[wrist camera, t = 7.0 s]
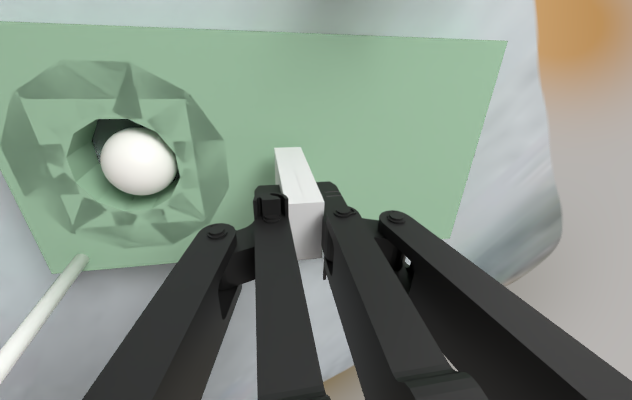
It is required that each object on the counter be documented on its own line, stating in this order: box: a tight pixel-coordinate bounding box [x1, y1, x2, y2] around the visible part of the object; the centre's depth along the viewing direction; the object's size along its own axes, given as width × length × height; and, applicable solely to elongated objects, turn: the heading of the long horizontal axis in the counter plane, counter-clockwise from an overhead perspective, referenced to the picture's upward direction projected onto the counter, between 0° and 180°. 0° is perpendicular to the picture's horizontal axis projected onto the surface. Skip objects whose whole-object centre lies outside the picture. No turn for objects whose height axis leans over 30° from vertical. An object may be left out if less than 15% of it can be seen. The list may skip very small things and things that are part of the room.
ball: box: [100, 127, 178, 195], centre depth 18 cm, size 4×4×4 cm
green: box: [0, 21, 508, 385], centre depth 15 cm, size 14×29×15 cm, turn 89°
